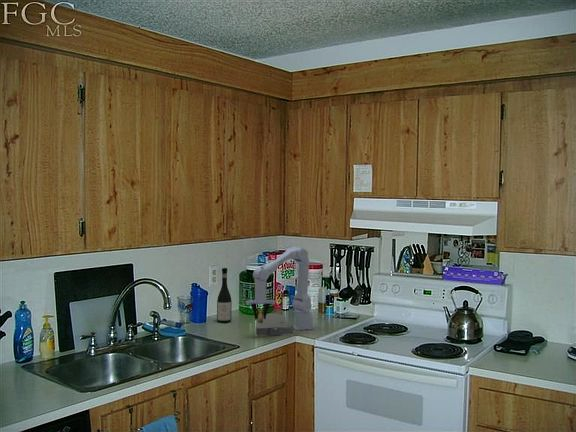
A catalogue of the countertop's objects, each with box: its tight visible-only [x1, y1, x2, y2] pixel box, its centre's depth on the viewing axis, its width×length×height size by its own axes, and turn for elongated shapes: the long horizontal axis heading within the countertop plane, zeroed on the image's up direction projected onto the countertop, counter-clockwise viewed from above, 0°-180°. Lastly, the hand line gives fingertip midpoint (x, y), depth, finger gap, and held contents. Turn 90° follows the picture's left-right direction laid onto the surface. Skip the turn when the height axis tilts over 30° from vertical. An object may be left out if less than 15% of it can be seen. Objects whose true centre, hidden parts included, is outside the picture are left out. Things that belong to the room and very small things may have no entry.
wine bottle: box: [216, 267, 233, 324], centre depth 310 cm, size 8×8×30 cm
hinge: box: [255, 313, 288, 329], centre depth 292 cm, size 17×5×10 cm, turn 102°
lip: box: [255, 326, 294, 337], centre depth 284 cm, size 19×6×3 cm, turn 100°
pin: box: [256, 308, 264, 323], centre depth 281 cm, size 4×4×6 cm
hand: (260, 318), depth 281 cm, fingers closed on pin, 4 cm apart
